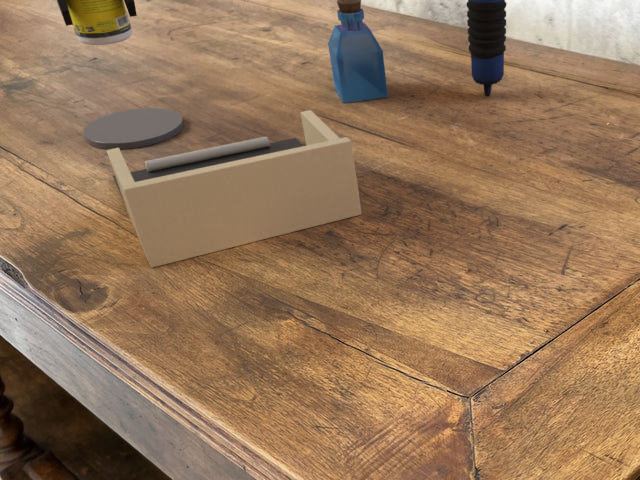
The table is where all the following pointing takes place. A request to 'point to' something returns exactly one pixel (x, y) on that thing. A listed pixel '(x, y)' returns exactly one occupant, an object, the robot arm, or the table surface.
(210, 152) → the shallow cardboard crate
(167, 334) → the table surface
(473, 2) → the blue black cylinder
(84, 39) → the pill bottle
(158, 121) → the trivet
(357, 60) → the perfume bottle
